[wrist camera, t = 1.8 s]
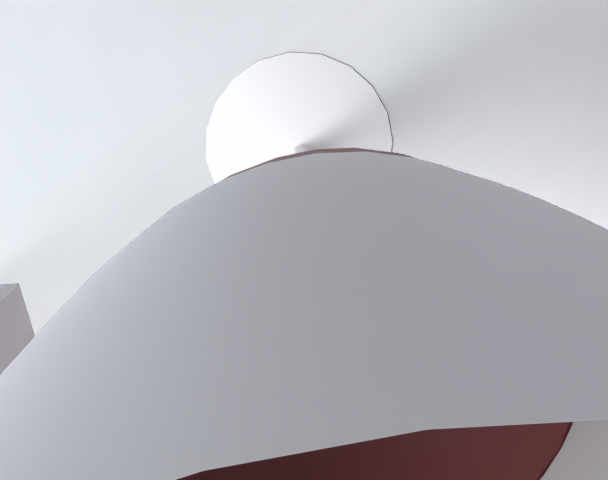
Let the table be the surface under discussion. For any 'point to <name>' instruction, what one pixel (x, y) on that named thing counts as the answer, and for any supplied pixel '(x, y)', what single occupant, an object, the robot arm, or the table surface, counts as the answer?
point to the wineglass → (324, 317)
